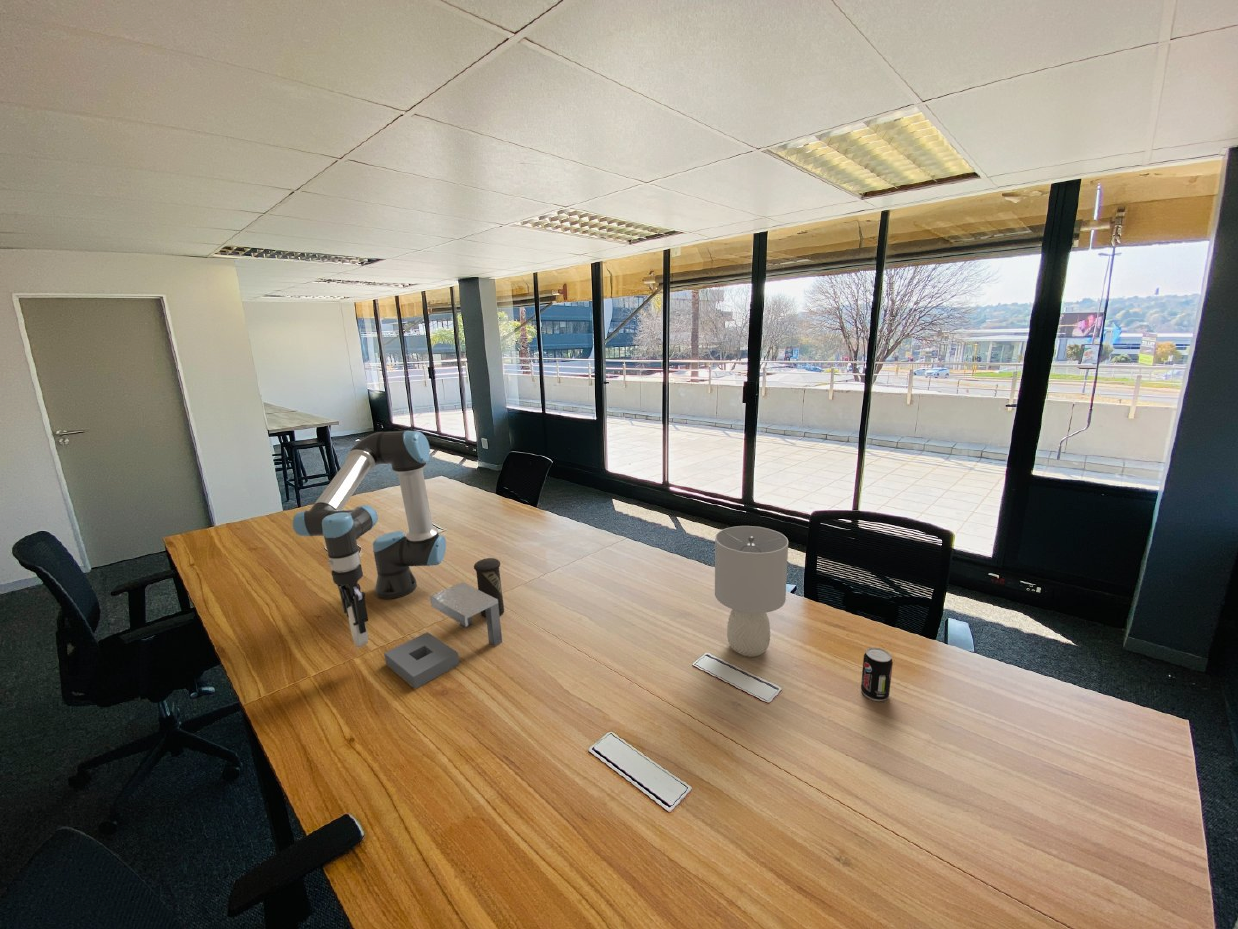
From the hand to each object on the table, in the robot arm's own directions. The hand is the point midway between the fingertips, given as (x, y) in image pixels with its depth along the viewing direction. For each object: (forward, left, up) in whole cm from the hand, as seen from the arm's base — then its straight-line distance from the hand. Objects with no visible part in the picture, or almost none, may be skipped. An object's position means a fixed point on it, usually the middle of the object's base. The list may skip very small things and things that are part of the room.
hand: (360, 638), depth 146 cm
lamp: (+86, +78, -10) cm, 117 cm away
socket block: (+12, +12, -10) cm, 20 cm away
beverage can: (+121, +80, -10) cm, 145 cm away
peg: (0, 0, -2) cm, 2 cm away
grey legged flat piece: (+12, +28, -10) cm, 32 cm away
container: (+4, +43, -10) cm, 44 cm away
